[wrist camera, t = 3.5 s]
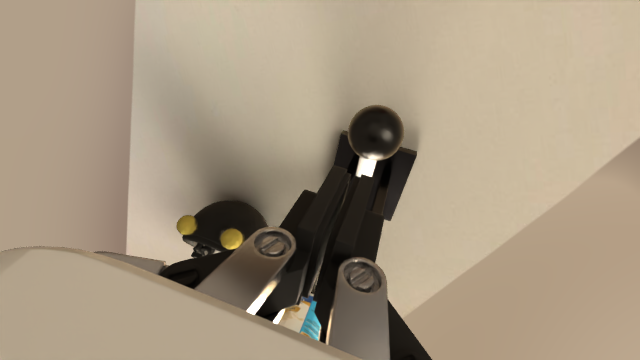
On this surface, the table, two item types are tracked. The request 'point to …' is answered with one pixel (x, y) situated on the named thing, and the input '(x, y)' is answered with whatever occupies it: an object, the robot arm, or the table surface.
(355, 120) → the ball knob lever
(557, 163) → the table surface
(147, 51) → the table surface
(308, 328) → the beverage bottle
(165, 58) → the table surface
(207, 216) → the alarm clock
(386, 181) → the lever switch
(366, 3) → the table surface
